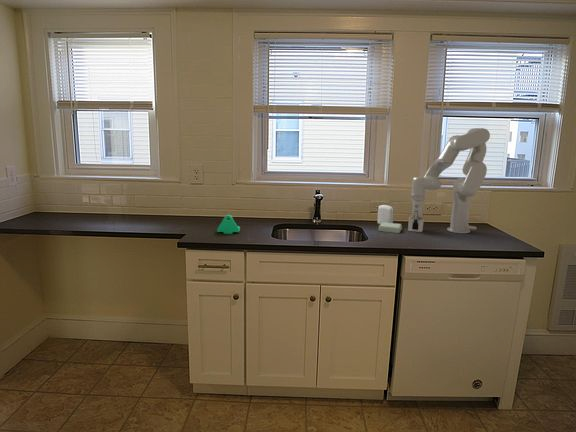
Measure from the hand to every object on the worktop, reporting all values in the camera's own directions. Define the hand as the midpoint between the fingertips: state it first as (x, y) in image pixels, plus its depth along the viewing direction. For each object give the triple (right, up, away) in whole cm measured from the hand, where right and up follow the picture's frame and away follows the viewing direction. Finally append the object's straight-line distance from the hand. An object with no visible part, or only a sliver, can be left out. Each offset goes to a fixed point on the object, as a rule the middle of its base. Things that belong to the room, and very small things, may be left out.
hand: (415, 228), depth 241 cm
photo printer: (-15, +2, +15) cm, 21 cm away
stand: (-15, -1, +1) cm, 15 cm away
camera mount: (-109, -2, -11) cm, 110 cm away
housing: (0, -1, 0) cm, 2 cm away
